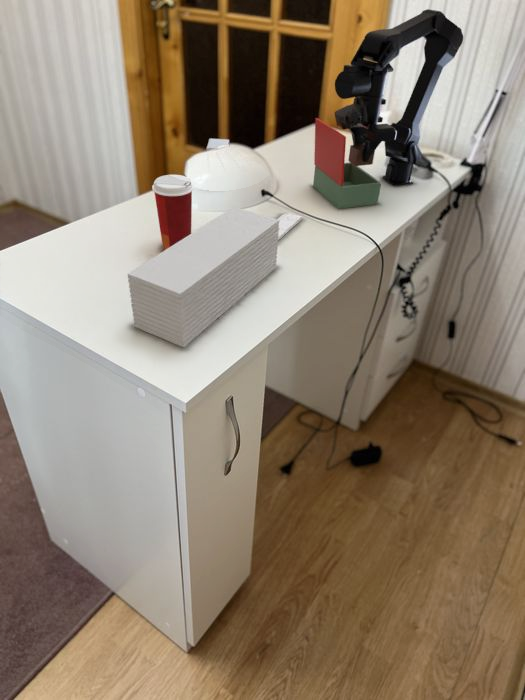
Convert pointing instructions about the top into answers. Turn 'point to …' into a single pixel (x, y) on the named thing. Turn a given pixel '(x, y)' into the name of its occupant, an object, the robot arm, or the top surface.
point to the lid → (329, 151)
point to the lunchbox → (348, 187)
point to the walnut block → (359, 155)
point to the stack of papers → (203, 275)
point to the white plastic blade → (287, 223)
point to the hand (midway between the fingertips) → (360, 158)
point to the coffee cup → (173, 207)
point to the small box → (216, 143)
